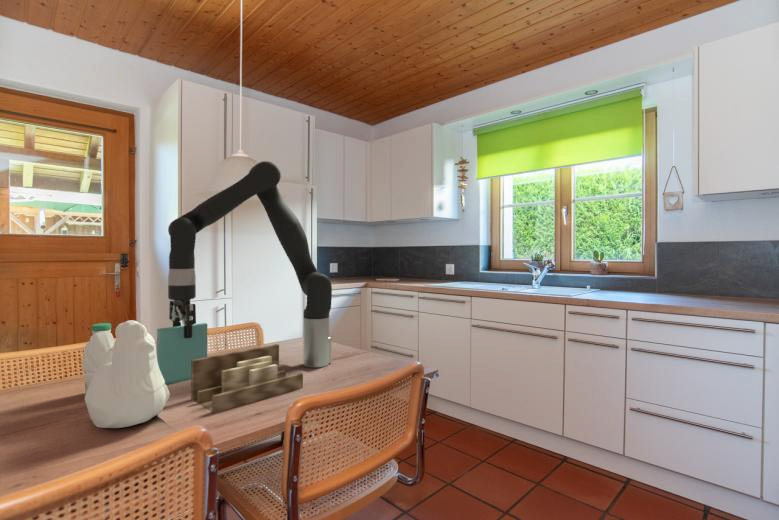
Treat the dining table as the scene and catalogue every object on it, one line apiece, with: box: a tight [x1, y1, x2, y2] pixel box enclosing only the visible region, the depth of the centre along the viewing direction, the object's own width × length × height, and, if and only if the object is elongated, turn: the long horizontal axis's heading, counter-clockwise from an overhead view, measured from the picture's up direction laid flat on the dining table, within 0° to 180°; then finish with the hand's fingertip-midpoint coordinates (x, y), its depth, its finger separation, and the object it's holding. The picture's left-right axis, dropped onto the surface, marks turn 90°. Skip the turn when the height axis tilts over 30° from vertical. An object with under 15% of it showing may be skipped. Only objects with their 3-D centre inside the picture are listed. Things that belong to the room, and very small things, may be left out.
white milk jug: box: [81, 319, 171, 429], centre depth 100 cm, size 25×16×25 cm, turn 54°
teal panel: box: [156, 322, 208, 386], centre depth 126 cm, size 14×2×18 cm, turn 138°
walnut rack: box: [190, 343, 304, 414], centre depth 115 cm, size 26×14×12 cm, turn 138°
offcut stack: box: [222, 356, 277, 393], centre depth 114 cm, size 15×4×9 cm, turn 138°
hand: (182, 336), depth 126 cm, fingers open, 8 cm apart
